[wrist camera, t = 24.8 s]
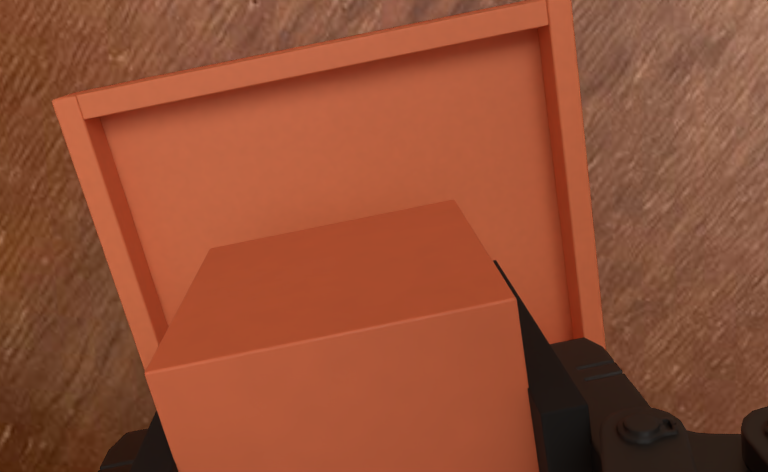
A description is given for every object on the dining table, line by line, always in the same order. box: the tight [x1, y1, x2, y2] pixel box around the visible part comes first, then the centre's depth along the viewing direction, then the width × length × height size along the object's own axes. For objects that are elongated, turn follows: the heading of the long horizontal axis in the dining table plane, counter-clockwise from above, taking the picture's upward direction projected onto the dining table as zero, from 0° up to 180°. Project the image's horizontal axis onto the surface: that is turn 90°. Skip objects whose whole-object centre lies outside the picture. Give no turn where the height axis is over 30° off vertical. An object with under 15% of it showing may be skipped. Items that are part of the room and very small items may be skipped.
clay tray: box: [52, 0, 606, 371], centre depth 25 cm, size 17×14×2 cm
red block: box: [145, 200, 539, 472], centre depth 15 cm, size 6×6×6 cm
